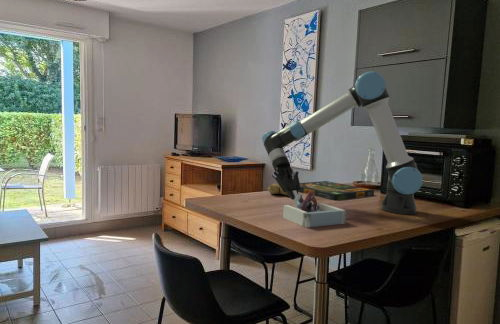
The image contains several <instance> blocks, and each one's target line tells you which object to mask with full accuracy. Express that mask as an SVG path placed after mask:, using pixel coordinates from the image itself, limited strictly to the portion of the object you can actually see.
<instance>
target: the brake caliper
mask: <svg viewBox="0 0 500 324" xmlns="http://www.w3.org/2000/svg"><path fill="white" fill-rule="evenodd" d="M296 199H297V200H298V203H297V207H296V208H297V209H300V210H303V211H305V212H319V211H321V209H320V205H318V202H317V199H316V196H314V195H313V193H312V191H309V193H308V194H306V196H305V198H303V193H302V194H300V193H299V194H298V196H297V197H296ZM312 202H313V203H312Z"/></svg>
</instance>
